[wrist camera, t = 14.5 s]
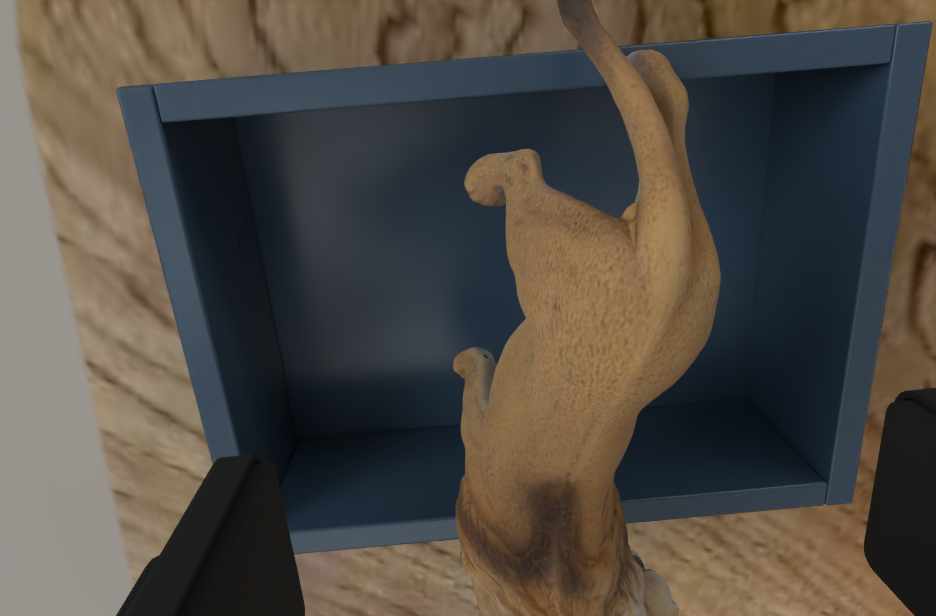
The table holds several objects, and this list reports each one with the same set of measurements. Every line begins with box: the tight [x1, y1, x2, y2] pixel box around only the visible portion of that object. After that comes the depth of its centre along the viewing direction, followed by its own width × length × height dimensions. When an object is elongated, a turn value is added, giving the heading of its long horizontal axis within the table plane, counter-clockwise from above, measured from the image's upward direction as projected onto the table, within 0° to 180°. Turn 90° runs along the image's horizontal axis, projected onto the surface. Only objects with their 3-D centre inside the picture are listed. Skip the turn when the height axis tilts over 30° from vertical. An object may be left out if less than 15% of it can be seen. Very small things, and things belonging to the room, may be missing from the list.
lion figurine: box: [453, 0, 721, 616], centre depth 13 cm, size 15×5×9 cm, turn 4°
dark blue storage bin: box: [117, 21, 932, 554], centre depth 18 cm, size 18×13×6 cm
